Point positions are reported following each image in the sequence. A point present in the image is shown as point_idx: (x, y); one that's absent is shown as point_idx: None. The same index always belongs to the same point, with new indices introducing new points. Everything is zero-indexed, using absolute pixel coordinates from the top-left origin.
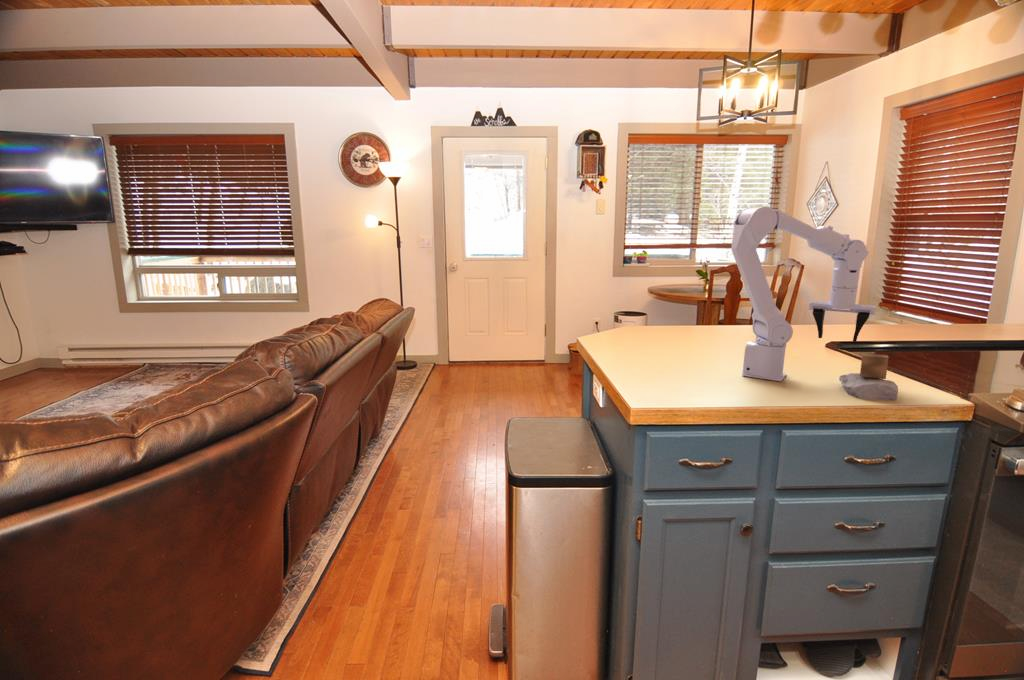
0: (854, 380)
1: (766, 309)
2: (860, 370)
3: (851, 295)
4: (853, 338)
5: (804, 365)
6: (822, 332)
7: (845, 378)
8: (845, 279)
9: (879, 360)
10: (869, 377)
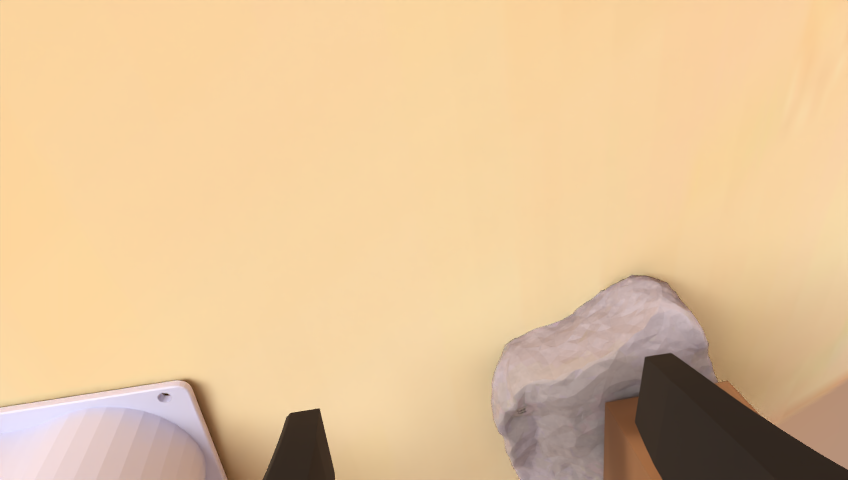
0: (569, 456)
1: None
2: (613, 445)
3: None
4: (653, 458)
5: (151, 7)
6: (318, 466)
7: (526, 434)
8: None
9: None
10: None
